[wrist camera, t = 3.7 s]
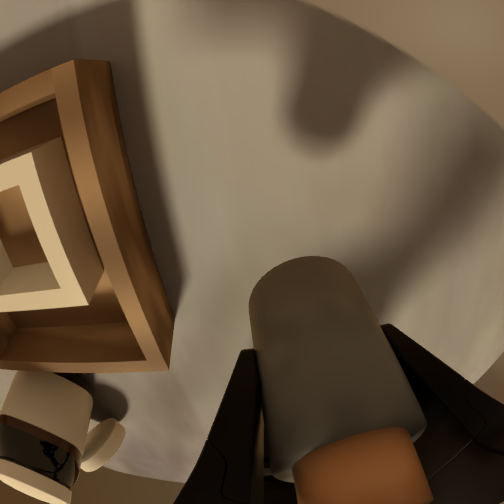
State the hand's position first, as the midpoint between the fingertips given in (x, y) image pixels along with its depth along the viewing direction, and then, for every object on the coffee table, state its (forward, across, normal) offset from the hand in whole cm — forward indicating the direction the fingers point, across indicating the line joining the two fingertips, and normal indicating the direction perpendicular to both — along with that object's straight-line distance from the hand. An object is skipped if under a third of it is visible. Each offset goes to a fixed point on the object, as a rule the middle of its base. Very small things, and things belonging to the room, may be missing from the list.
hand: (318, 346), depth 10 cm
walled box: (+9, +14, -2) cm, 17 cm away
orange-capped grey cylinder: (+2, 0, 0) cm, 2 cm away
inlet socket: (+9, +14, -3) cm, 17 cm away
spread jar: (+9, +20, +15) cm, 27 cm away
